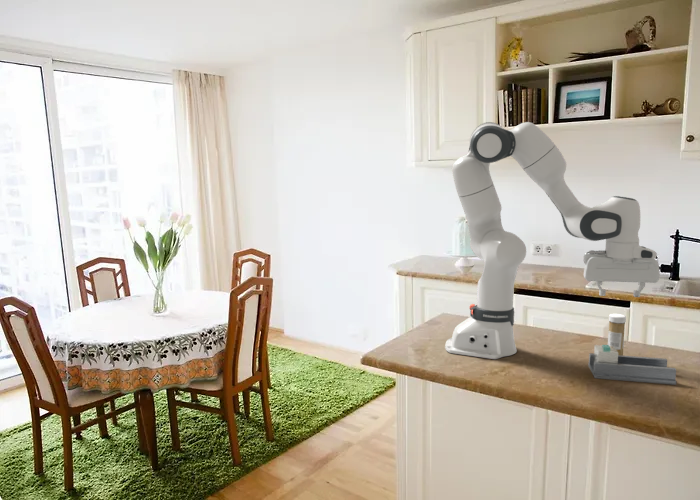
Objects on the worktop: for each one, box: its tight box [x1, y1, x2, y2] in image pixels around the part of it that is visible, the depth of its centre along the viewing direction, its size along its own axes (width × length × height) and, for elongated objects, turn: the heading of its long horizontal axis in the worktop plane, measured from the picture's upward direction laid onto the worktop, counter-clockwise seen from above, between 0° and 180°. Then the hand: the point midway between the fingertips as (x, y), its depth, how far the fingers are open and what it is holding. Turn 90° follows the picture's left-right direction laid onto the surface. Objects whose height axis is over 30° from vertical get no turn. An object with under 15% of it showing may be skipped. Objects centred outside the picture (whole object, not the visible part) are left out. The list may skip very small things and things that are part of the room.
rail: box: [587, 344, 677, 386], centre depth 146 cm, size 20×10×8 cm, turn 75°
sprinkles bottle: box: [607, 313, 627, 356], centre depth 159 cm, size 5×5×14 cm
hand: (619, 296), depth 158 cm, fingers open, 8 cm apart
